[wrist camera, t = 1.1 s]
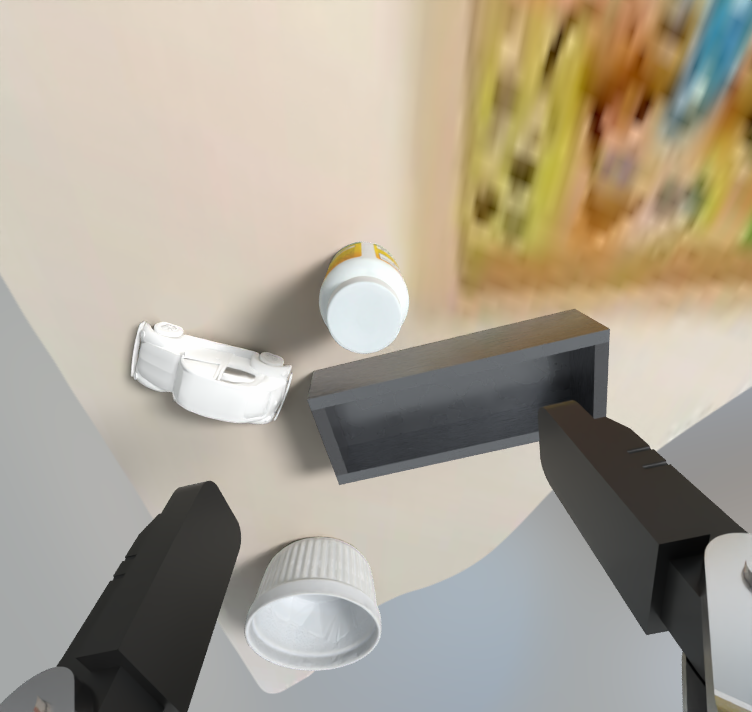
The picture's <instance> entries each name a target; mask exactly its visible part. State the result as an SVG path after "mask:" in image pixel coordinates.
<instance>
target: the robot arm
mask: <svg viewBox="0 0 752 712" xmlns="http://www.w3.org/2000/svg"><path fill="white" fill-rule="evenodd" d="M538 427H539V444H540V459H541V464H542V468H543V471H544V473H545V476H546V478H547V480H548V482H549V484H550V486H551V487H552V489H553V490H554V492H555V494H556V495H557V497H558V498H559V500H560V501H561V503H562V504H563V506H564V507H565V509H566V511H567V512H568V514H569V515H570V517H571V518H572V520H573V521H574V523H575V525H576V526H577V528H578V529H579V531H580V532H581V534H582V536H583V537H584V539H585V540H586V542H587V543H588V545H589V546H590V548H591V550H592V551H593V553H594V554H595V556H596V557H597V559H598V561H599V562H600V564H601V565H602V566H603V568H604V570H605V571H606V573H607V575H608V576H609V577H610V579H611V581H612V582H613V584H614V585H615V587H616V589H617V590H618V592H619V593H620V595H621V596H622V598H623V599H624V601H625V603H626V604H627V606H628V607H629V609H630V610H631V612H632V613H633V615H634V617H635V618H636V620H637V621H638V623H639V624H640V626H641V627H642V629H643V631H644V632H645V634H646V635H649V634H654V633H660V632H665V631H669V632H670V633H671V635H672V636H673V638H674V639H675V641H676V642H677V643H678V645H679V646H680V648H681V649H682V651H683V652H682V691H683V692H682V694H683V712H752V534H749V533H747V532H746V531H745V530H744V529H743V528H741V527H740V526H739V525H738V524H737V523H735V522H734V521H733V520H732V519H731V518H730V517H729V516H728V515H726V514H725V513H724V512H723V511H722V510H721V509H720V508H719V507H718V506H716V505H715V504H714V503H713V502H712V501H711V500H710V499H709V498H707V497H706V496H705V495H704V494H703V493H702V492H701V491H700V490H698V489H697V488H696V487H695V486H694V485H693V484H692V483H691V482H689V481H688V480H687V479H686V478H685V477H684V476H683V475H682V474H681V473H679V472H678V471H677V470H676V469H675V468H674V467H673V466H671V464H670V465H668V464H667V463H666V460H665V459H664V458H663V457H662V456H660V455H659V454H658V453H657V452H656V451H655V450H654V449H652V450H651V449H650V446H649V445H648V444H647V443H646V442H645V441H644V440H643V439H641V438H640V437H639V436H638V435H637V434H636V433H635V432H634V431H632V430H631V429H630V428H628V427H626V426H624V425H622V424H620V423H617V422H615V421H613V420H611V419H609V418H607V417H601V418H597V419H594V418H593V417H592V416H591V415H590V414H589V413H588V412H587V411H586V410H585V409H584V408H583V407H582V406H581V405H580V404H579V403H577V402H576V401H573V400H571V401H567V402H562V403H558V404H553V405H549V406H544V407H540V408H539V410H538ZM240 545H241V531H240V526H239V523H238V521H237V519H236V518H235V516H234V514H233V513H232V511H231V509H230V507H229V506H228V504H227V502H226V500H225V499H224V497H223V495H222V493H221V492H220V490H219V488H218V487H217V485H216V484H215V483H214V482H212V481H206V482H201V483H197V484H193V485H188V486H184V487H180V488H178V489H177V490H176V491H175V492H174V493H173V495H172V496H171V498H170V500H169V501H168V503H167V505H166V506H165V508H164V510H163V511H162V513H161V514H158V515H157V516H156V517H155V519H154V520H153V521H152V522H151V523H150V524H149V525H148V526H147V527H146V528H145V529H144V530H143V531H142V532H141V533H140V534H139V535H138V537H137V539H136V540H135V542H134V543H133V545H132V547H131V548H130V550H129V551H128V553H127V555H126V556H125V558H126V559H125V561H122V563H121V564H120V566H119V568H118V569H117V571H116V572H115V574H114V579H113V581H110V582H109V584H108V585H107V587H106V588H105V590H104V592H103V593H102V595H101V596H100V598H99V600H98V601H97V603H96V605H95V606H94V608H93V610H92V611H91V613H90V614H89V616H88V618H87V619H86V621H85V622H84V624H83V625H82V627H81V629H80V630H79V632H78V633H77V635H76V637H75V638H74V640H73V642H72V643H71V645H70V646H69V648H68V649H67V651H66V653H65V654H64V656H63V657H62V659H61V661H60V662H59V664H58V665H57V667H54V668H50V669H48V670H45V671H43V672H41V673H39V674H37V675H35V676H34V677H32V678H31V679H29V680H28V681H26V682H25V683H23V684H22V685H21V686H20V687H18V688H17V689H16V690H15V691H14V692H13V693H11V694H10V695H9V696H8V697H7V698H6V699H5V700H4V701H3V702H2V703H1V704H0V712H187V711H188V708H189V705H190V702H191V698H192V695H193V692H194V689H195V686H196V683H197V680H198V677H199V673H200V670H201V667H202V664H203V661H204V658H205V655H206V652H207V649H208V645H209V643H210V639H211V636H212V633H213V630H214V627H215V624H216V621H217V618H218V615H219V612H220V609H221V605H222V602H223V599H224V596H225V593H226V590H227V587H228V584H229V581H230V577H231V574H232V571H233V568H234V565H235V562H236V559H237V556H238V553H239V549H240Z"/></svg>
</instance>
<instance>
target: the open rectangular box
mask: <svg viewBox="0 0 752 712" xmlns="http://www.w3.org/2000/svg"><path fill="white" fill-rule="evenodd" d="M609 335H610V329H609V328H607V327H605V326H604V325H602V324H600V323H598V322H597V321H595V320H593V319H592V318H590V317H588V316H586V315H585V314H583V313H581V312H579V311H578V310H576V309H573V310H569V311H564V312H560V313H556V314H552V315H548V316H543V317H539V318H535V319H531V320H527V321H522V322H518V323H514V324H510V325H506V326H501V327H497V328H493V329H489V330H485V331H480V332H476V333H472V334H468V335H464V336H459V337H455V338H451V339H447V340H443V341H438V342H434V343H430V344H426V345H422V346H417V347H413V348H409V349H405V350H401V351H396V352H392V353H388V354H384V355H380V356H375V357H371V358H367V359H363V360H359V361H354V362H350V363H346V364H342V365H338V366H333V367H329V368H325V369H321V370H317V371H313V376H312V380H311V385H310V389H309V393H308V398H307V401H308V403H309V406H310V409H311V411H312V414H313V417H314V419H315V422H316V425H317V427H318V430H319V432H320V435H321V438H322V440H323V443H324V446H325V448H326V451H327V453H328V456H329V459H330V461H331V464H332V467H333V469H334V472H335V475H336V477H337V480H338V482H339V485H341V484H346V483H350V482H355V481H359V480H364V479H369V478H373V477H378V476H382V475H387V474H391V473H396V472H401V471H405V470H410V469H414V468H419V467H423V466H428V465H433V464H437V463H442V462H446V461H451V460H455V459H460V458H465V457H469V456H474V455H478V454H483V453H487V452H492V451H497V450H501V449H506V448H510V447H515V446H519V445H524V444H529V443H533V442H538V441H539V427H538V410H539V408H540V407H544V406H549V405H553V404H558V403H562V402H567V401H571V400H573V401H576V402H577V403H579V404H580V405H581V406H582V407H583V408H584V409H585V410H586V411H587V412H588V413H589V414H590V415H591V416H592V417H593V418H594V419H597V418H601V417H606V407H607V383H608V359H609Z"/></svg>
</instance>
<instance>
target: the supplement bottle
mask: <svg viewBox="0 0 752 712" xmlns="http://www.w3.org/2000/svg"><path fill="white" fill-rule="evenodd" d="M319 308H320V312H321V315H322V318H323V320H324V322H325V324H326V325H327V327H328V329H329V331H330V333H331V335H332V337H333V338H334V340H335V341H336V342H337V343H338V344H339V345H340V346H342V347H343V348H345V349H347V350H349V351H352V352H355V353H361V354H367V353H373V352H377V351H379V350H382V349H384V348H385V347H387V346H388V345H389V344H391V343H392V342H393V340H394V339H395V338H396V336H397V335H398V333H399V331H400V328H401V325H402V324H403V322H404V320H405V318H406V316H407V312H408V308H409V294H408V289H407V286H406V284H405V281H404V279H403V277H402V274H401V272H400V270H399V268H398V265H397V263H396V261H395V260H394V258H393V257H392V255H391V254H390V253H389V252H388V251H387V250H386V249H384V248H383V247H381V246H380V245H378V244H375V243H372V242H355V243H352V244H350V245H347V246H346V247H344V248H343V249H341V250H340V251H339V252H338V253H337V254H336V255H335V256H334V258H333V259H332V261H331V263H330V265H329V268H328V270H327V273H326V276H325V278H324V281H323V284H322V286H321V290H320V294H319Z"/></svg>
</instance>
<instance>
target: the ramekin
mask: <svg viewBox="0 0 752 712" xmlns="http://www.w3.org/2000/svg"><path fill="white" fill-rule="evenodd" d="M380 636H381V616H380V612H379V609H378V607H377V602H376V595H375V588H374V581H373V576H372V572H371V568H370V565H369V564H368V561H367V560H366V559H365V557H364V556H363V555H362V554H361V553H360V552H359V551H358V550H357V549H356V548H355V547H353V546H352V545H350V544H348V543H346V542H344V541H341V540H338V539H334V538H328V537H312V538H306V539H301V540H298V541H296V542H293V543H291V544H289V545H288V546H286V547H285V548H283V549H282V550H281V551H280V552H278V553H277V554H276V555H275V556H274V557H273V558H272V560H271V562H270V563H269V565H268V567H267V569H266V571H265V573H264V576H263V579H262V581H261V584H260V587H259V589H258V592H257V595H256V598H255V601H254V602H253V604H252V605H251V607H250V609H249V611H248V614H247V618H246V623H245V638H246V641H247V643H248V645H249V646H250V647H251V649H252V650H253V651H254V652H255V653H256V654H258V655H259V656H260V657H262V658H263V659H265V660H267V661H269V662H271V663H274V664H276V665H279V666H282V667H286V668H290V669H297V670H308V671H309V670H310V671H312V670H316V671H317V670H328V669H334V668H339V667H342V666H346V665H348V664H351V663H354V662H356V661H358V660H360V659H362V658H363V657H365V656H366V655H368V654H369V653H370V652H371V651H372V650H373V649H374V648H375V647H376V645H377V644H378V642H379V639H380Z"/></svg>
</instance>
